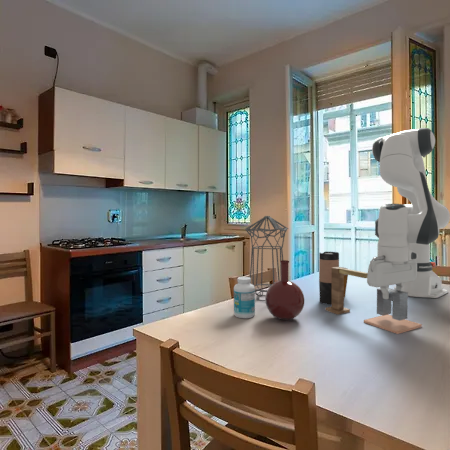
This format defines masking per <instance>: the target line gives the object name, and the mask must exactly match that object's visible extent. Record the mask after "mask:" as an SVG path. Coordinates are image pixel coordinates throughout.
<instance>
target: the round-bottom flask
mask: <svg viewBox="0 0 450 450" xmlns="http://www.w3.org/2000/svg"><path fill="white" fill-rule="evenodd" d="M280 263H281V276H280V281H276V282H275V281H274V282H275V283H274V284H273V283H272V285H271V286H269V287H268V288H267V292H265V295H266V296H264V297H265V298H264V300H265V301H264V302H265V306H266V309H267V310H268V312H269V313H270V314H271V315H272V316H273V317H275V318H276V319H279V320H283V321H289V320H294V319H296V318H297V317H298V316H299V315H300V314H301V313H302V311H303V309H304V306H305V295H304V293H303V290H302V289H301V288H300V287H299V285H298V284H296V283H295V282H293V281H290V280H289V264H290V260H285V259H283V260H282V259H281V261H280V260H279V264H280Z"/></svg>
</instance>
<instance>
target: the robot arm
mask: <svg viewBox="0 0 450 450" xmlns="http://www.w3.org/2000/svg"><path fill="white" fill-rule="evenodd" d="M435 145H436V137H435V134H434V133H433V131H432V129H430V128H429V127H419V128H416V129H407V130H402V131H399V132H396V133H391V134H390V135H386V136H380V137H378V138H375V140H374V141H373V144H372V149H371V152H372V156H373V158H374V160H375V161H377V162H378V163H379V175H380V177H381V179H382V180H383V181H384V182H385V183H386V184H388V185H390V186H393V187H395V188H396V189H397V192H398V194H399V195H400V196H402V197H403V198H406V199H407V200H408V201H409V202H410V204H409V203H406V204H405V203H404V204H403V203H388V204H386V203H385V204H383V205H381V206H380V209H379V212H378V217H377V219H376V220H374V223H375V224H374V225H375V228H374V229H375V230H374V235H375V237H377V238H378V241H377V256H373V257H372V259H371V260H370V261H369V264H368V268H367V273H368V275H367V278H366V283H367V285H368V286H369V287H373V288H380V289H381V291H382V293H383V298H384V299H390V298H391V297H390V296H391V294H390V293H389V292H388V289H389V288H390V286H394V285H395V286H394V287H393V289H395V290H399V291H404V292H408V297H414V298H429V299H431V298H432V299H437V298H440V297H443V296H444V295H446V294H448V293H449V291H448V289H445V288H443V287H442V286H443V282H442V279H441V277H439V276H438V275H437V274H436V272H434V271H433V267H436V265H437V264H436V262H435V261H431V244H432V243H434V241H436V240H437V239H438V238H439V235H440V230H442V229H444V228H446V227H447V226H448V224H449V222H450V211H449V209H448V208H447V207H446V206H445V205H443V204H442V203H440V202H439V201H438V200H436V198H434V196H433V195H432V193H431V191H430V189H429V185H428V181H427V177H426V169H425V163H424V158H426V156H427V155H430V154H431V153H432V152H433V150H434V147H435Z"/></svg>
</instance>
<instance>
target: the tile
mask: <svg viewBox="0 0 450 450" xmlns="http://www.w3.org/2000/svg"><path fill="white" fill-rule="evenodd" d="M363 323H365V324H367V325H370V326H373V327H376V328H379V329H382V330H385V331H386V332H387V331H388V332H390V333H394V334H397V335H400V334H402V333H406V332H409V331H412V330H416V329H420V328H422V327H423V324H422V323H418V322H415V321H411V320H408V319H404V320H400V321H399V320H396V319H392V314H388V315H384V316H383V315H378V316H373V317H371V318H367V319H364V320H363Z"/></svg>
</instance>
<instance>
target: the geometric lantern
mask: <svg viewBox="0 0 450 450" xmlns="http://www.w3.org/2000/svg"><path fill="white" fill-rule="evenodd" d="M263 224H264V226H263ZM270 224H271V226H272V228H273V229H271V228H270ZM262 226H263V228H262ZM266 226H267V228H266ZM244 230H245V232H247V234H248V235H249V237H250V242H251V251H250V252H251V253H250V255H251V256H250V271H249V277H250V278H251V282H250V283H251V284H253V285H254V287H257V288H258V289H256V288H255V296H256V301H260V302H261V301H262V302H265V299H260V297H266V294H263V293H267V290H268V289H267V290H266V289H263V286H269V287H270V286H271V285H272V284H274V283H275V265H274V264H275V263H274V250H275V253H276V254H275V255H276V266H277V280H278V281H281V263H280V261H282V260H284V251H283V250H284V249H283V248H284V244H285V243H284V242H285V237H286V233H287V231H288V230H289V228H288V227H287V226H286V225H284V224H282V223H281V222H279V221H277V220H276V219H274V218H273V217H272V216H270V215H264V217H262V218H259V220H257V221H256V222H254V223H252V224H251V225H249V226H248V227H246V228H245V229H244ZM255 231H256V233H257V234H255ZM277 231H278V232H277ZM259 232H262V233H263V234H264V236H260V235H259ZM266 232H268V233H266ZM273 233H275V234H274V235H272V234H273ZM279 234H280V236H279V237H278V240H277V239H276V236H278V235H279ZM255 237H256V238H255ZM269 237H272V238H274V240H275V241H276V244H275V245H272V243H271V242H270V240H269ZM264 238H265V239H264ZM281 238H282V244H281V245H280V244H279V242H280V239H281ZM258 239H264V242H263V243H262V245H259V244H258V242H257V240H258ZM253 241H254V244H253ZM267 242H268V244H269V245H265V244H266V243H267ZM255 245H256V246H255ZM255 249H257V254H256V255H257V257H256V277H255ZM260 250H261V259H260V260H261V261H260V263H261V268H260V270H261V271H260V276H261V277H260V283H258V279H259V278H258V277H259V276H258V275H259V255H260V254H259V251H260ZM264 250H271V260H272V261H271V262H272V263H271V264H272V266H271V267H272V282H273V283H272V284H271V283H270V284H269V283H268V284H267V283H263V272H264V271H263V267H264V266H263V262H264V261H263V259H264V257H263V256H264V255H263V254H264ZM278 250H279V252H278ZM279 268H280V269H279ZM254 278H255V279H254ZM254 282H255V283H254ZM259 286H261V289H260V287H259Z"/></svg>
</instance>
